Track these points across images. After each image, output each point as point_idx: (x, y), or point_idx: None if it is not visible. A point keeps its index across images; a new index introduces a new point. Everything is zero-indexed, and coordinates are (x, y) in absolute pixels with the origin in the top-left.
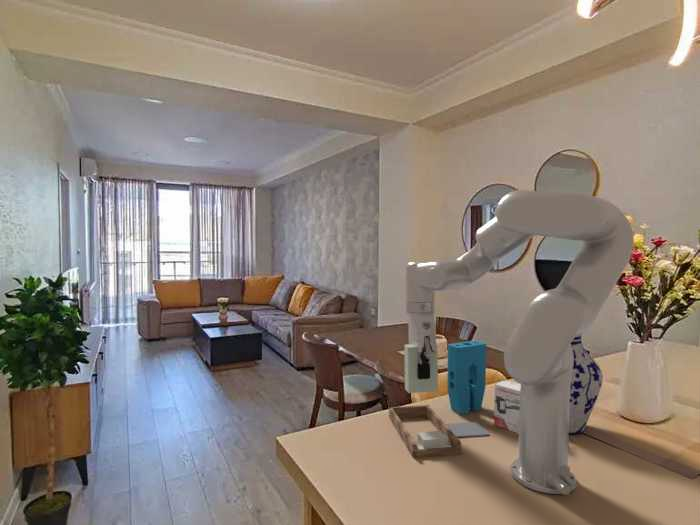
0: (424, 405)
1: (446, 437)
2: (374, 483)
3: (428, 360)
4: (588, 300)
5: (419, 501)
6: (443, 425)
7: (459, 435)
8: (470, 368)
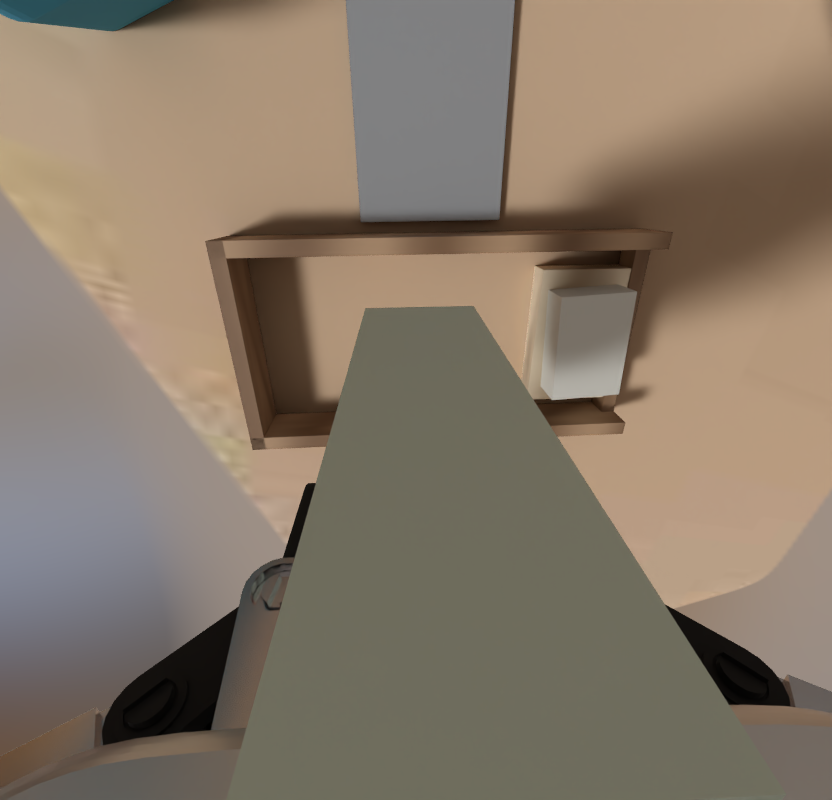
0: (214, 267)
1: (631, 294)
2: (681, 524)
3: (701, 637)
4: None
5: (799, 445)
6: (492, 252)
7: (497, 160)
8: None
